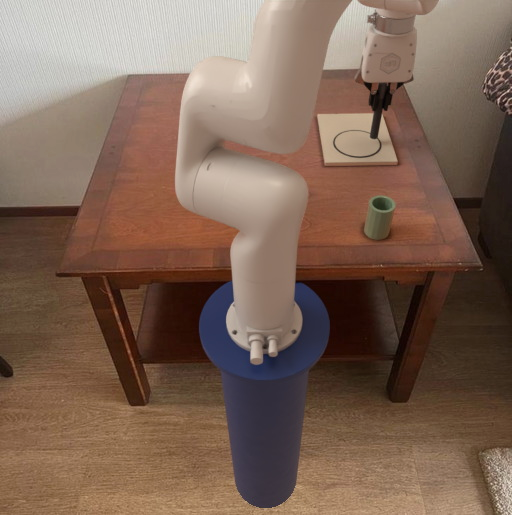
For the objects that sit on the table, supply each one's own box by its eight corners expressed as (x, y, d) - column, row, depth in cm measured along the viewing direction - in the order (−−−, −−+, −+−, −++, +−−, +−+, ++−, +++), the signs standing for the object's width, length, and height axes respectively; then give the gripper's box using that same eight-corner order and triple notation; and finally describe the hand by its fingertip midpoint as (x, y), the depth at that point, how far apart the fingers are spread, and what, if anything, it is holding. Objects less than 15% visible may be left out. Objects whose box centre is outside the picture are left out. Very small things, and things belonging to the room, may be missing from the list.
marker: (378, 139, 115) (388, 85, 105) (370, 139, 115) (379, 85, 105) (377, 134, 116) (386, 81, 107) (369, 134, 116) (377, 81, 107)
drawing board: (397, 165, 112) (398, 160, 112) (324, 166, 113) (325, 161, 112) (381, 116, 126) (382, 112, 125) (317, 117, 126) (317, 113, 126)
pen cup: (391, 239, 97) (398, 212, 91) (365, 240, 97) (371, 212, 92) (386, 222, 100) (393, 195, 95) (362, 222, 100) (367, 195, 95)
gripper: (355, 30, 94) (344, 118, 108) (440, 28, 94) (419, 116, 107) (349, 14, 99) (340, 99, 113) (430, 12, 99) (411, 98, 113)
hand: (378, 107), depth 110 cm, fingers closed on marker, 1 cm apart
